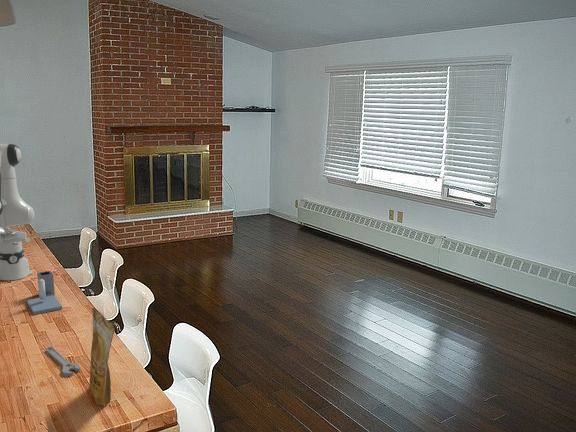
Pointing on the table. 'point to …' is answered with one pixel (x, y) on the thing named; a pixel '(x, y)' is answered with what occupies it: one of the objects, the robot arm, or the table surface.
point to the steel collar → (47, 282)
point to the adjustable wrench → (63, 362)
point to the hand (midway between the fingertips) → (23, 241)
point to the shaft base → (43, 301)
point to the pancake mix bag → (100, 359)
